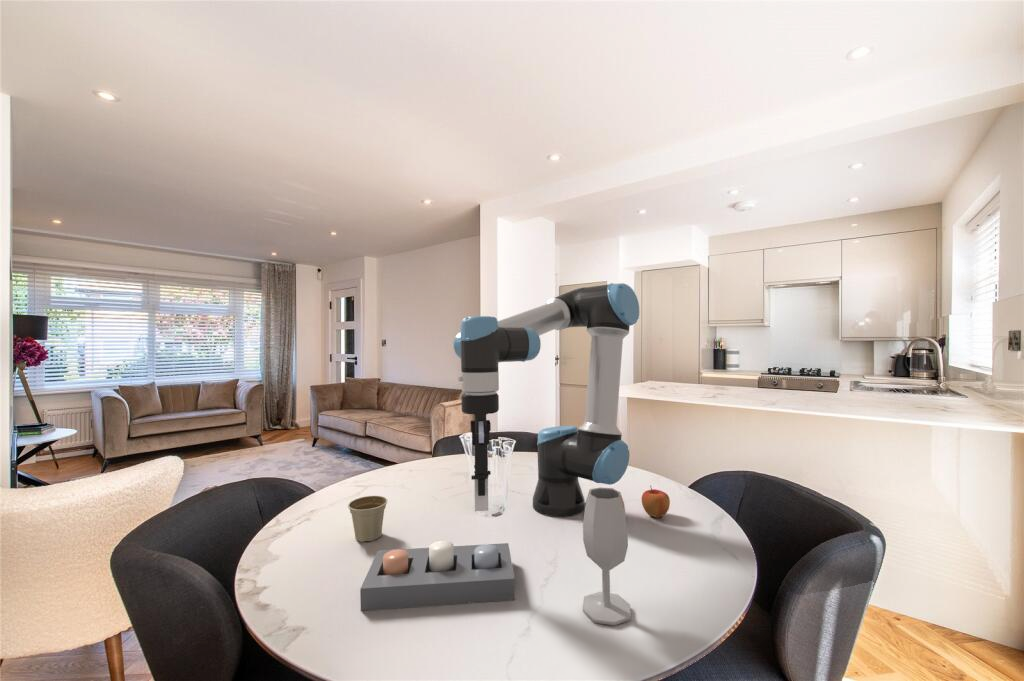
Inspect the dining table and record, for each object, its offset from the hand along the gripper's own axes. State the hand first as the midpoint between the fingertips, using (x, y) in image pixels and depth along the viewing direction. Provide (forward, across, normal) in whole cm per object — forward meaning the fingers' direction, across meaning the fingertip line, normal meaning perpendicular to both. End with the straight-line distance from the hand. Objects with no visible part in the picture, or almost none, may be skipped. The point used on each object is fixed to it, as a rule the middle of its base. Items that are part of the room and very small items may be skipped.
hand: (481, 509), depth 85 cm
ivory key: (+11, 0, -8) cm, 14 cm away
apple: (+15, -26, +48) cm, 56 cm away
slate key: (+12, 0, +1) cm, 12 cm away
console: (+15, 0, -8) cm, 17 cm away
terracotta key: (+12, 0, -17) cm, 21 cm away
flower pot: (+15, -23, -28) cm, 39 cm away
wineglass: (+15, +12, +22) cm, 29 cm away
